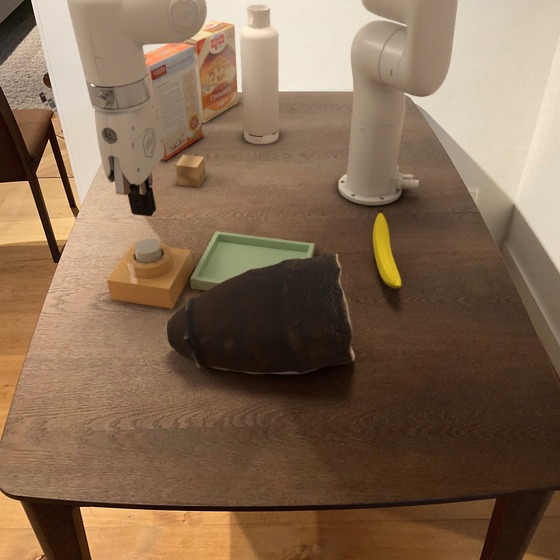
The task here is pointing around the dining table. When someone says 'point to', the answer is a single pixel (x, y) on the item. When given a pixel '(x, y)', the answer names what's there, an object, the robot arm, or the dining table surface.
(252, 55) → the bottle
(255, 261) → the tray
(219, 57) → the coffeecake box
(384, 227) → the banana
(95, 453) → the dining table surface
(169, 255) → the button base
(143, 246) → the grey button cap
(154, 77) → the cracker box
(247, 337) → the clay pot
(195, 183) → the block
